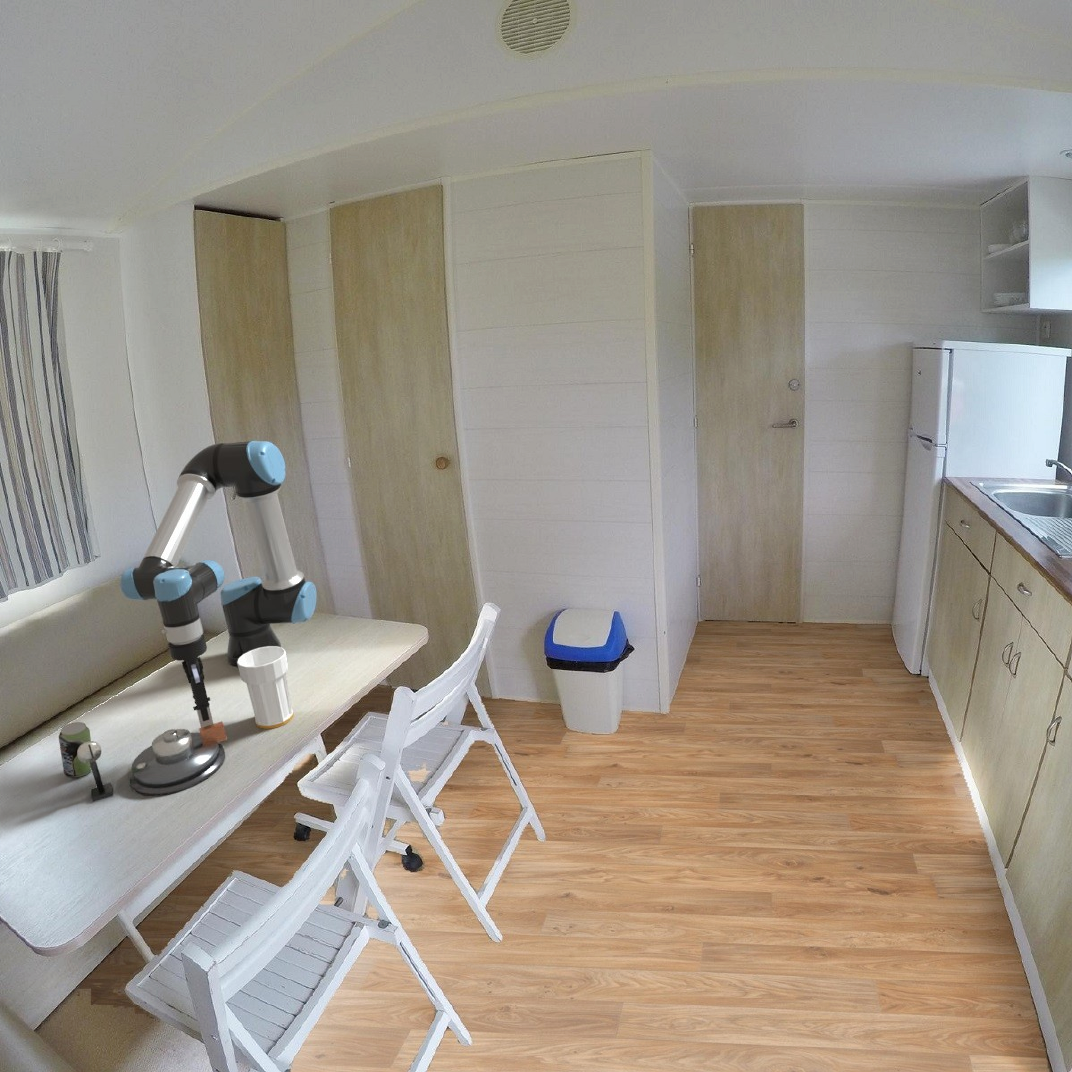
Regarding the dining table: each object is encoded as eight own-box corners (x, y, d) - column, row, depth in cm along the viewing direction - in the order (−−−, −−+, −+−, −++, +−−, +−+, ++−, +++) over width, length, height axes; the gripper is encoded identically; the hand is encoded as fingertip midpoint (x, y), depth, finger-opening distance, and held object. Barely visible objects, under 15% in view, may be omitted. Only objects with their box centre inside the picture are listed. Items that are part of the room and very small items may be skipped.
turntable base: (127, 763, 178) (126, 759, 178) (217, 733, 187) (216, 730, 187) (133, 807, 161) (132, 803, 161) (232, 772, 171) (231, 768, 170)
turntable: (130, 759, 177) (124, 735, 175) (221, 729, 187) (216, 706, 185) (137, 798, 162) (129, 773, 160) (235, 764, 172) (229, 739, 170)
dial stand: (90, 793, 168) (74, 740, 164) (113, 785, 170) (97, 733, 166) (91, 802, 164) (74, 749, 160) (114, 794, 166) (98, 742, 162)
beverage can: (73, 766, 179) (59, 721, 175) (105, 762, 179) (92, 717, 176) (59, 782, 173) (45, 736, 169) (93, 778, 173) (79, 732, 170)
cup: (241, 728, 189) (226, 664, 184) (271, 704, 199) (258, 643, 193) (278, 734, 185) (264, 669, 179) (307, 710, 195) (295, 648, 189)
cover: (154, 751, 175) (149, 730, 173) (192, 740, 179) (186, 719, 177) (157, 769, 168) (151, 747, 167) (196, 756, 172) (190, 735, 170)
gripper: (164, 633, 176) (187, 723, 183) (171, 653, 165) (195, 748, 172) (199, 624, 179) (220, 713, 186) (207, 643, 168) (229, 736, 176)
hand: (208, 730), depth 179 cm, fingers closed
